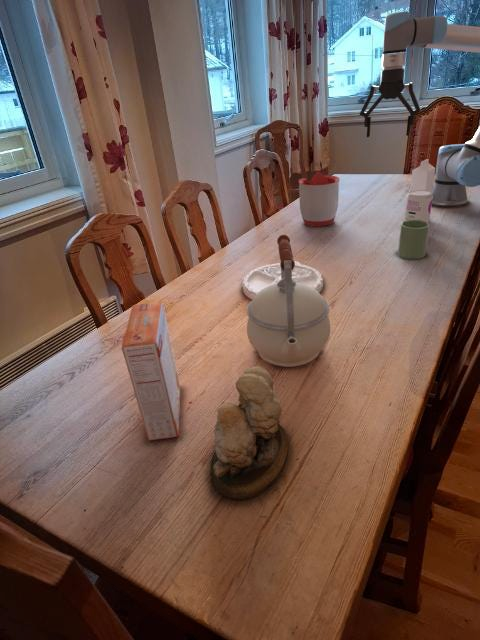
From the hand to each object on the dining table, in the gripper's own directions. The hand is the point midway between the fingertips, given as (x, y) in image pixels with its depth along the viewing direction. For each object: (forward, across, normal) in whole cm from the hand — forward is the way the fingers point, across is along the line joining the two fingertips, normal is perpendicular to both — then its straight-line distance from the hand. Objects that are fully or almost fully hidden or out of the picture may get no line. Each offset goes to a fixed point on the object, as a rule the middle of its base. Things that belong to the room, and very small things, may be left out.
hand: (387, 135), depth 156 cm
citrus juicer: (+31, -24, -7) cm, 40 cm away
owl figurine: (+31, -7, -130) cm, 133 cm away
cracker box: (+31, -26, -125) cm, 131 cm away
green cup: (+31, +13, -36) cm, 49 cm away
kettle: (+31, -9, -99) cm, 104 cm away
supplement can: (+31, +13, -18) cm, 38 cm away
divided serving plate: (+31, -21, -64) cm, 74 cm away
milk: (+31, +14, 0) cm, 34 cm away
